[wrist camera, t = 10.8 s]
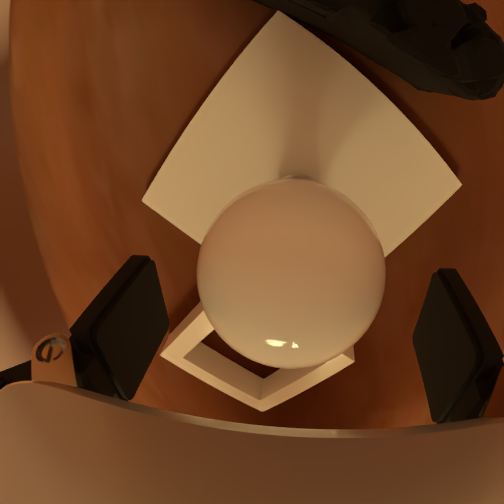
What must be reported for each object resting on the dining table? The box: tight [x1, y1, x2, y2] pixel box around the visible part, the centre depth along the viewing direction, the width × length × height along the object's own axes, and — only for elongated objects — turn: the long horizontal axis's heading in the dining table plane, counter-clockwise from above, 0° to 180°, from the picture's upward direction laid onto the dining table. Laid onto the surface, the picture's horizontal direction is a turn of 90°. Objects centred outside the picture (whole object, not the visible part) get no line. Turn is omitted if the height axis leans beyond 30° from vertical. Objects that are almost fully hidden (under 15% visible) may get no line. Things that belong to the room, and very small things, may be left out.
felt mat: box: [142, 10, 462, 257], centre depth 17 cm, size 14×14×1 cm
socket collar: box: [160, 301, 355, 412], centre depth 24 cm, size 11×11×2 cm
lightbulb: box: [197, 173, 386, 369], centre depth 13 cm, size 6×6×11 cm
